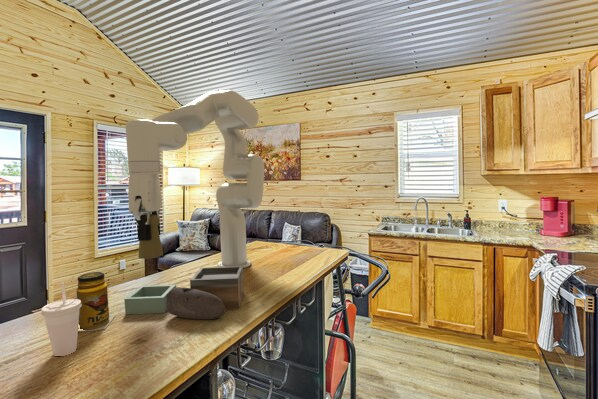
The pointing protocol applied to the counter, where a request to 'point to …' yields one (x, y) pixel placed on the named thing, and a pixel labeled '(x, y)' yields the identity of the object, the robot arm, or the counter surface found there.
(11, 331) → the counter surface
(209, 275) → the gray open box
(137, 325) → the counter surface
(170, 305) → the perforated stone tool
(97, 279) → the condiment
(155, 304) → the shaker holder
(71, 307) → the smoothie
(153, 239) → the tan rounded piece
